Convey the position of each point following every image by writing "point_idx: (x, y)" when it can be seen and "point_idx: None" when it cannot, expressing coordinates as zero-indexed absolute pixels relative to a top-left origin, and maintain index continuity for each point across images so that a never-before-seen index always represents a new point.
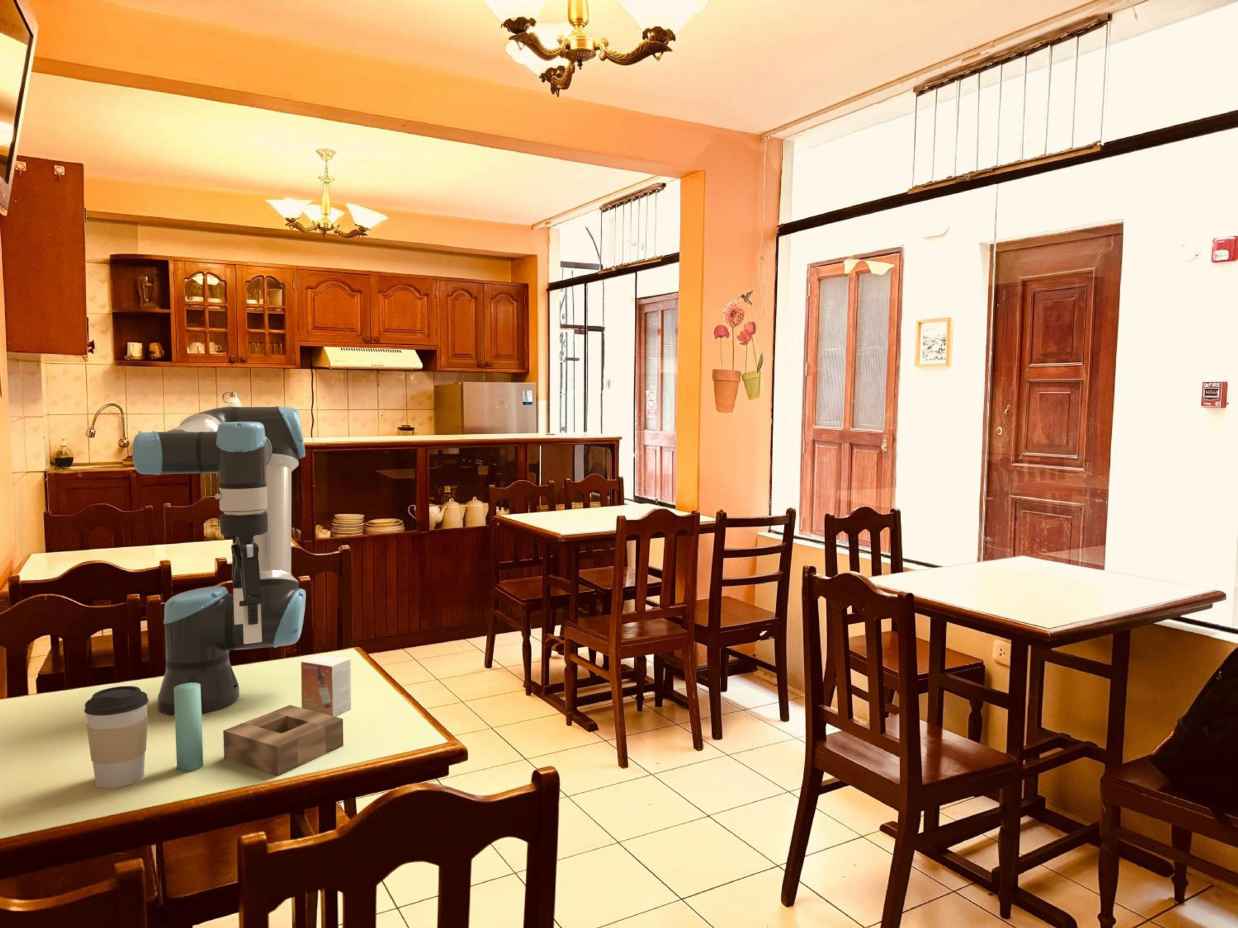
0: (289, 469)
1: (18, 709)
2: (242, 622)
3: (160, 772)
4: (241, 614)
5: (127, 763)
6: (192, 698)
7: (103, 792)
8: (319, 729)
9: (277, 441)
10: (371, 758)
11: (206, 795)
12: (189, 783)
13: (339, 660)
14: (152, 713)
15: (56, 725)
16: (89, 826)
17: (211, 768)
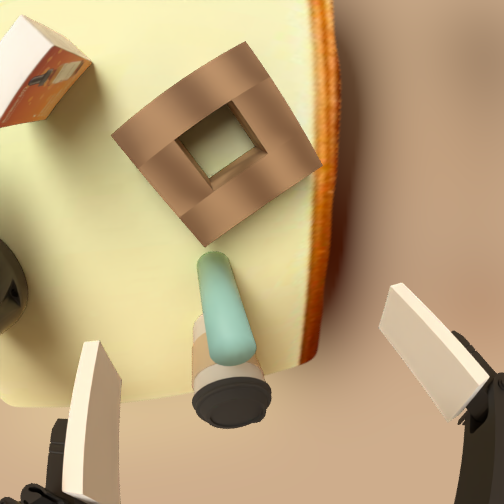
0: None
1: (25, 404)
2: (111, 367)
3: None
4: (110, 396)
5: None
6: (250, 329)
7: None
8: (276, 88)
9: None
10: (307, 29)
11: (312, 239)
12: (268, 260)
13: (21, 35)
14: (22, 321)
15: (56, 386)
16: (317, 325)
17: (231, 240)
